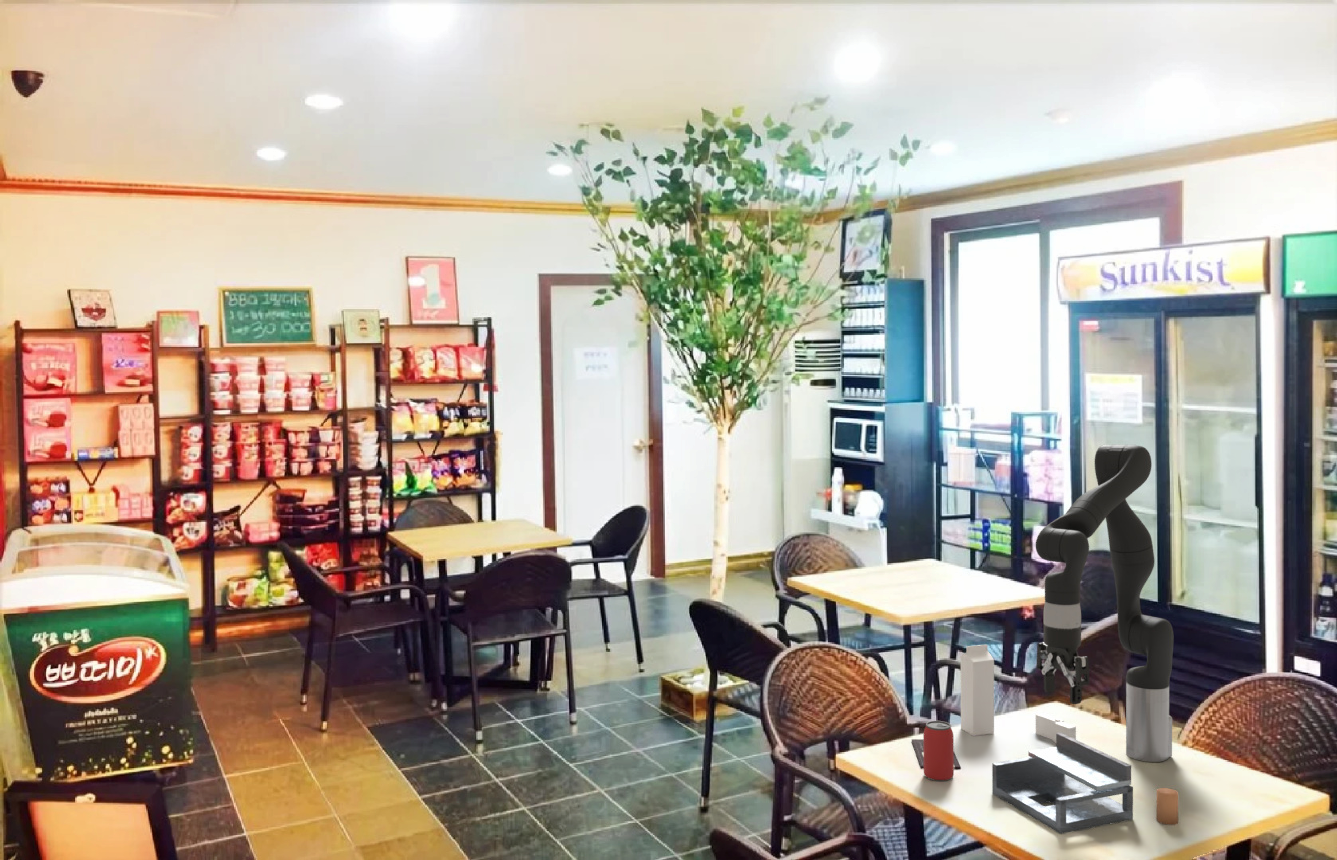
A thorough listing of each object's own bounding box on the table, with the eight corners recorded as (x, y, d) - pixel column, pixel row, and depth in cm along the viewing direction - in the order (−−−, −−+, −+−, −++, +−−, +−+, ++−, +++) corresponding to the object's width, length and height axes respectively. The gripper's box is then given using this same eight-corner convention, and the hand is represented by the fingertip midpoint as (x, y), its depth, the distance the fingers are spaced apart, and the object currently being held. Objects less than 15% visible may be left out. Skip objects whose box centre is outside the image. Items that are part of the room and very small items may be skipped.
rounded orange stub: (1167, 815, 228) (1167, 787, 228) (1182, 823, 224) (1182, 794, 224) (1152, 818, 227) (1152, 789, 226) (1166, 826, 223) (1167, 797, 223)
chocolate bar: (948, 739, 273) (960, 766, 256) (948, 743, 274) (960, 771, 256) (911, 739, 274) (920, 766, 256) (911, 743, 274) (920, 770, 257)
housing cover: (1060, 750, 246) (1060, 732, 246) (1131, 784, 226) (1131, 765, 226) (1028, 756, 243) (1028, 738, 243) (1097, 791, 223) (1097, 771, 223)
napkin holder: (1026, 731, 281) (1026, 709, 281) (1073, 733, 279) (1073, 710, 279) (1036, 752, 266) (1036, 729, 266) (1085, 754, 265) (1085, 730, 264)
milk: (994, 733, 279) (994, 647, 277) (972, 736, 277) (973, 649, 275) (981, 726, 285) (981, 641, 283) (960, 728, 283) (960, 643, 281)
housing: (1060, 781, 247) (1060, 751, 246) (1132, 819, 226) (1133, 787, 226) (992, 794, 241) (992, 763, 240) (1060, 834, 220) (1060, 800, 220)
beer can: (954, 782, 247) (954, 730, 247) (924, 781, 249) (923, 728, 248) (952, 772, 254) (952, 720, 253) (923, 770, 255) (923, 719, 254)
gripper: (1099, 628, 229) (1099, 705, 230) (1055, 613, 243) (1055, 686, 244) (1069, 632, 227) (1069, 710, 228) (1026, 617, 240) (1026, 690, 242)
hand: (1062, 697), depth 236 cm, fingers open, 8 cm apart
